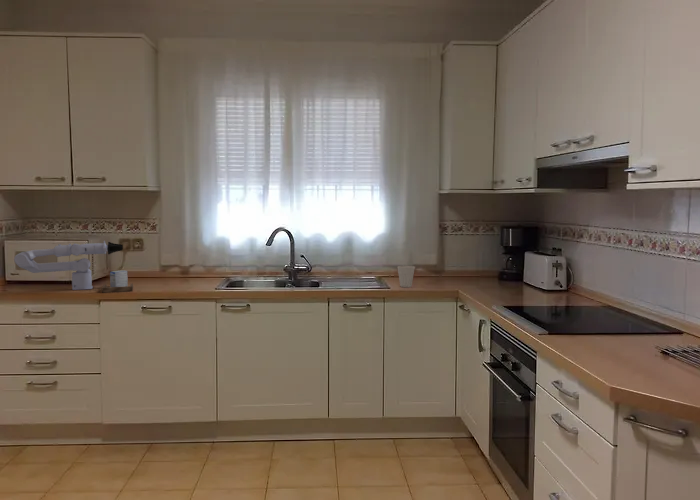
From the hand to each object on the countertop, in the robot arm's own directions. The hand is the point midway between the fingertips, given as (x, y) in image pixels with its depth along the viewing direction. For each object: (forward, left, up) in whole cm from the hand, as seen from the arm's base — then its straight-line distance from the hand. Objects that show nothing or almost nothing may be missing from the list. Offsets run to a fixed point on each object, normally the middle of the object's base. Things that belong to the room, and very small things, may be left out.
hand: (122, 247), depth 320 cm
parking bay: (-2, -11, -21) cm, 24 cm away
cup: (+146, -43, -22) cm, 153 cm away
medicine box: (-2, +1, -22) cm, 22 cm away
